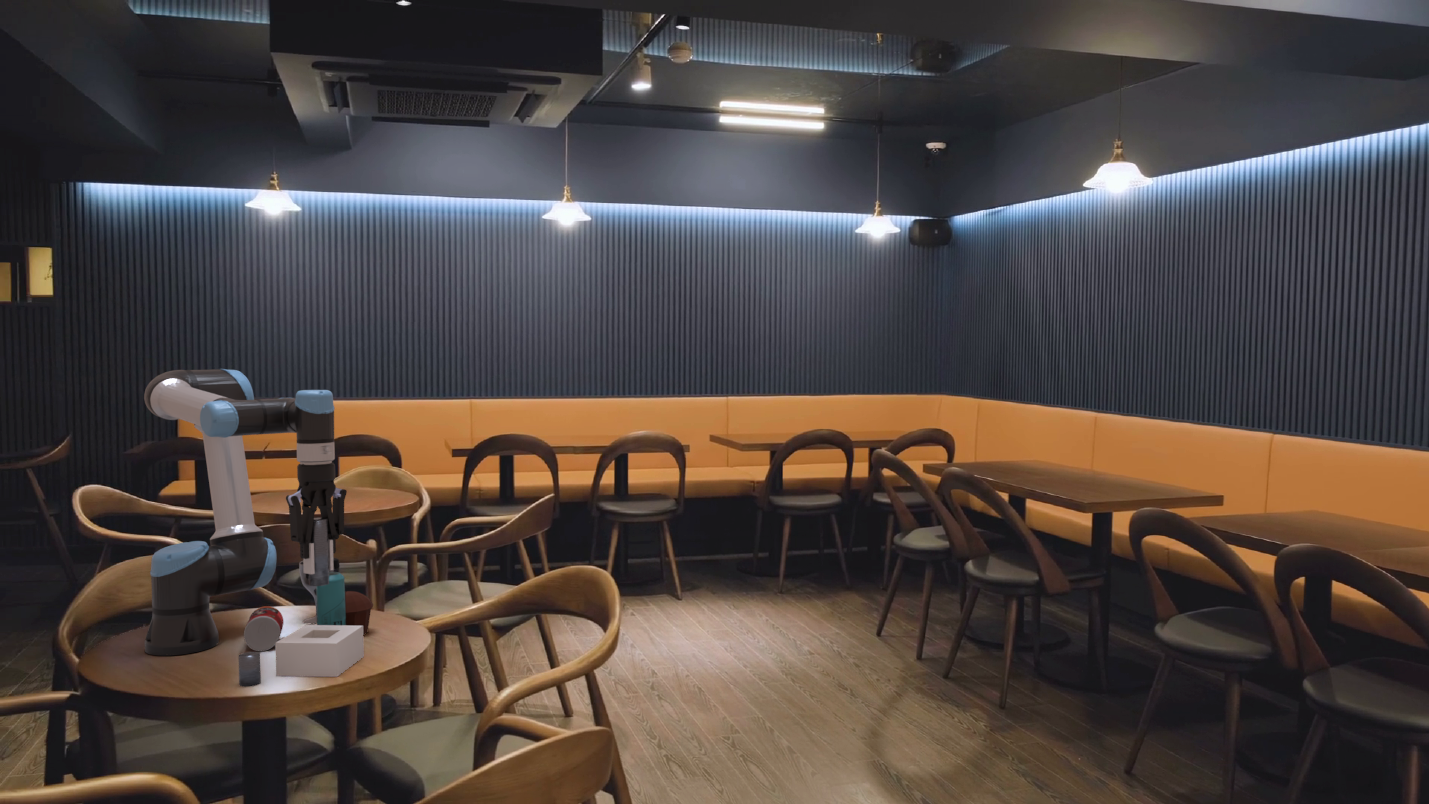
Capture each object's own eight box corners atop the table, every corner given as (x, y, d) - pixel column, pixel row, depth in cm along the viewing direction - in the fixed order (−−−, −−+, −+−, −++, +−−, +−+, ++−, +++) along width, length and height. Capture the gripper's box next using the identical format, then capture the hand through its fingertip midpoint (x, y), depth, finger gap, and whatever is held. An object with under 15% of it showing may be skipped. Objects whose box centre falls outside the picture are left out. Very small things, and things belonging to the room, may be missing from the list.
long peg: (305, 586, 218) (304, 520, 217) (314, 582, 222) (312, 517, 221) (324, 586, 218) (322, 520, 217) (332, 582, 222) (330, 517, 221)
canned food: (280, 601, 243) (276, 612, 232) (287, 634, 243) (283, 646, 233) (245, 609, 240) (239, 621, 230) (252, 642, 241) (247, 655, 231)
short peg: (235, 686, 207) (234, 657, 207) (245, 680, 211) (244, 651, 211) (254, 686, 207) (253, 657, 207) (264, 680, 211) (263, 651, 211)
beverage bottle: (334, 650, 232) (331, 562, 232) (310, 647, 235) (308, 560, 234) (353, 642, 238) (351, 557, 238) (330, 640, 241) (328, 555, 240)
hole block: (276, 675, 214) (275, 642, 214) (306, 656, 228) (305, 625, 228) (337, 676, 213) (336, 643, 213) (363, 656, 227) (363, 625, 227)
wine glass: (307, 626, 253) (306, 566, 252) (296, 620, 259) (294, 561, 258) (339, 620, 258) (338, 561, 257) (327, 614, 264) (326, 557, 263)
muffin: (314, 641, 240) (313, 598, 240) (331, 628, 251) (330, 587, 251) (366, 640, 240) (365, 598, 240) (380, 627, 252) (379, 587, 251)
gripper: (291, 467, 209) (293, 580, 210) (361, 459, 223) (363, 566, 225) (269, 465, 213) (272, 576, 214) (339, 458, 228) (341, 562, 229)
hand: (318, 571), depth 220 cm, fingers closed on long peg, 4 cm apart
